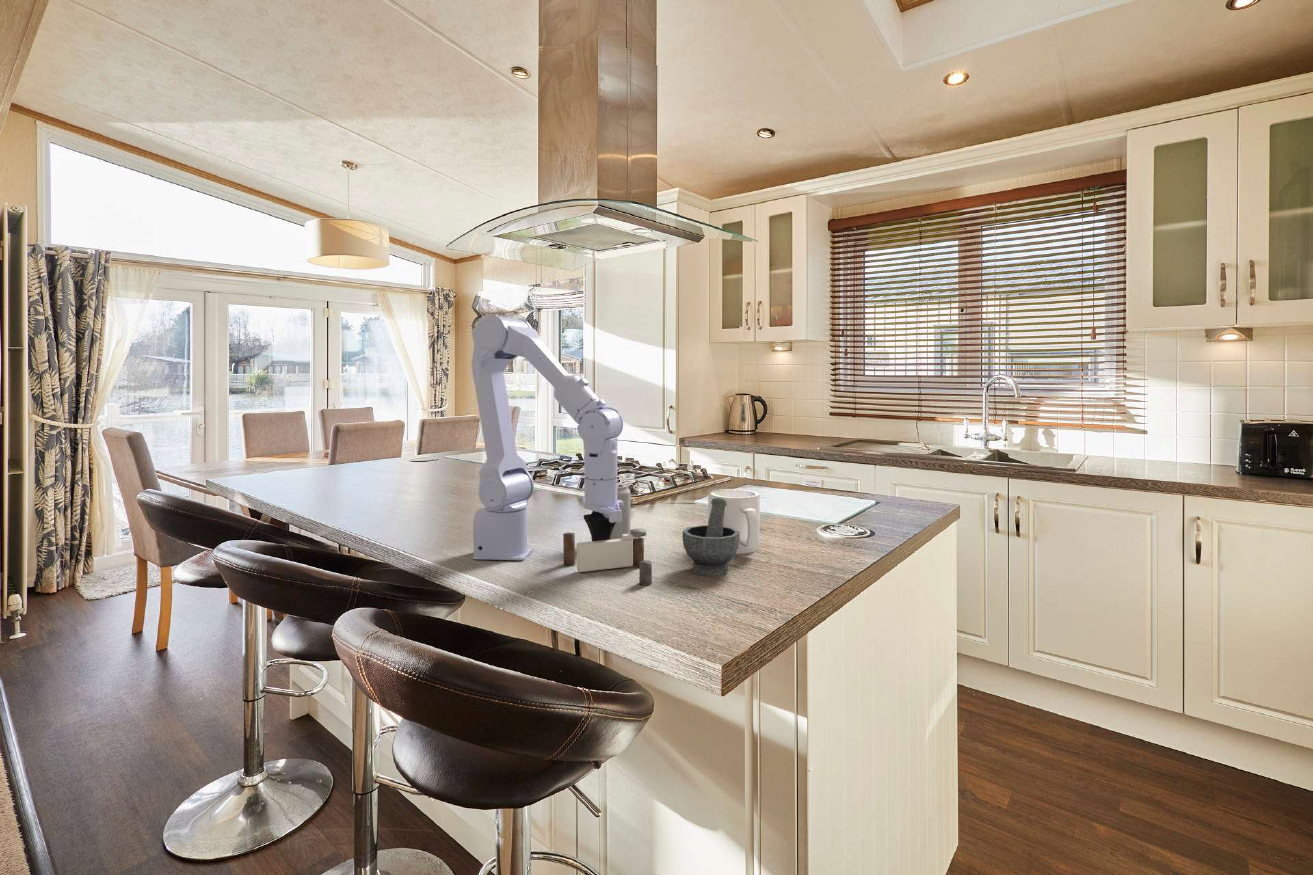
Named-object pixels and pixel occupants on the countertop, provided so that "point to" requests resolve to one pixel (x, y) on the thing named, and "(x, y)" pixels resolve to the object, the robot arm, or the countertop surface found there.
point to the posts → (638, 557)
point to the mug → (740, 515)
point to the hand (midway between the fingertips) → (601, 554)
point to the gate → (607, 552)
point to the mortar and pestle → (711, 542)
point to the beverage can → (623, 526)
